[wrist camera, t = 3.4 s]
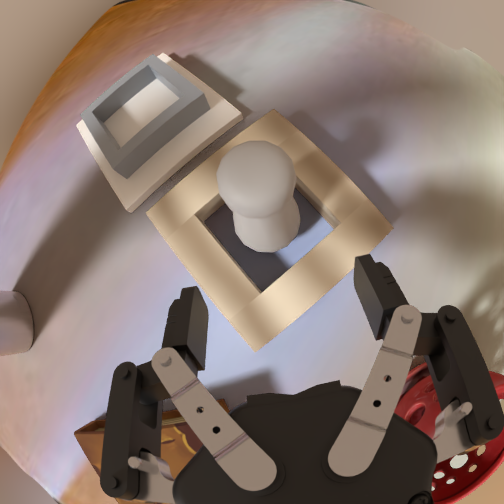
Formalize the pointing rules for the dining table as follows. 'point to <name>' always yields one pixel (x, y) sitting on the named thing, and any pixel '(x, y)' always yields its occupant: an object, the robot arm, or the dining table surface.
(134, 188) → the socket plate
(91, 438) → the diary
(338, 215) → the birch holder block
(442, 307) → the robot arm
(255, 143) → the salt shaker
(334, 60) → the dining table surface
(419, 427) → the plant pot
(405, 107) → the dining table surface
